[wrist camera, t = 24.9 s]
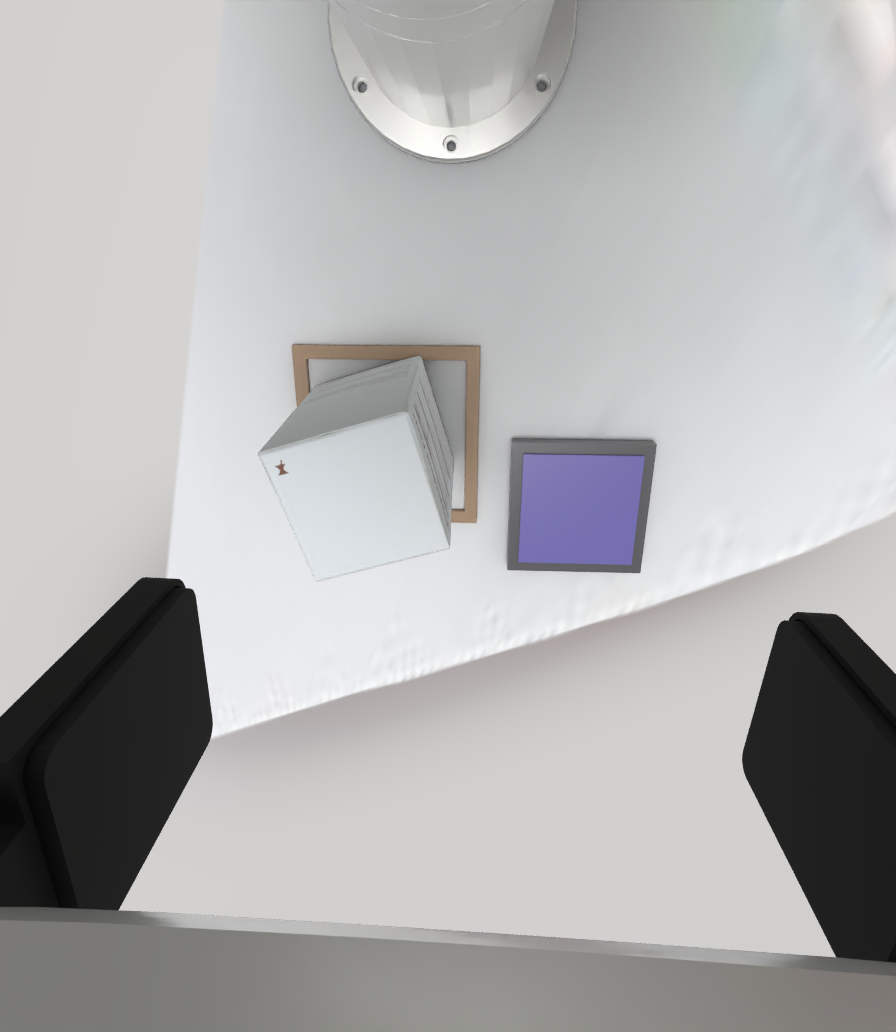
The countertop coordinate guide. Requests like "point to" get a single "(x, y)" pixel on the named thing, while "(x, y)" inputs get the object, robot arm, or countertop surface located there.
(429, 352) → the tan picture frame
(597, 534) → the ink pad
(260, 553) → the countertop surface
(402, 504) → the supplement box
